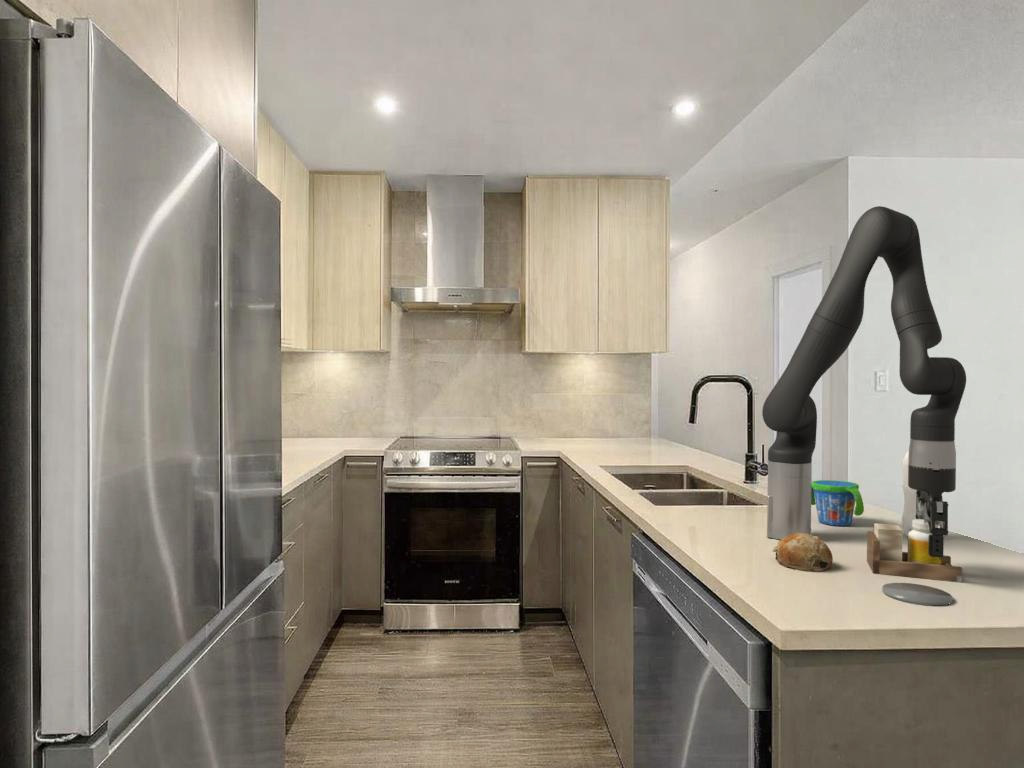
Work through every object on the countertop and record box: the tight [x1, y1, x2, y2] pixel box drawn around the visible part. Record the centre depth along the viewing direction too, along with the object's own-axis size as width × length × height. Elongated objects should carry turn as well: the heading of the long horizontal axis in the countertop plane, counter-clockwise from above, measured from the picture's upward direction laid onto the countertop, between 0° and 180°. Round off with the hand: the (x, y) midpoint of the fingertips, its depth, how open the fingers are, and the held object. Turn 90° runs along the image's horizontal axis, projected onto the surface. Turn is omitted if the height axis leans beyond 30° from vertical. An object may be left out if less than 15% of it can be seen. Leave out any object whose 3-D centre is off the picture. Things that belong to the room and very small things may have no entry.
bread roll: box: [772, 533, 834, 573], centre depth 129 cm, size 10×10×8 cm
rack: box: [866, 523, 963, 583], centre depth 125 cm, size 14×9×8 cm, turn 69°
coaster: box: [881, 582, 953, 606], centre depth 111 cm, size 10×10×1 cm
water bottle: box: [901, 449, 917, 537], centre depth 153 cm, size 7×7×25 cm
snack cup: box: [811, 479, 865, 527], centre depth 166 cm, size 16×10×10 cm
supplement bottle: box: [907, 519, 941, 565], centre depth 125 cm, size 5×5×10 cm
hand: (930, 550), depth 124 cm, fingers open, 8 cm apart
